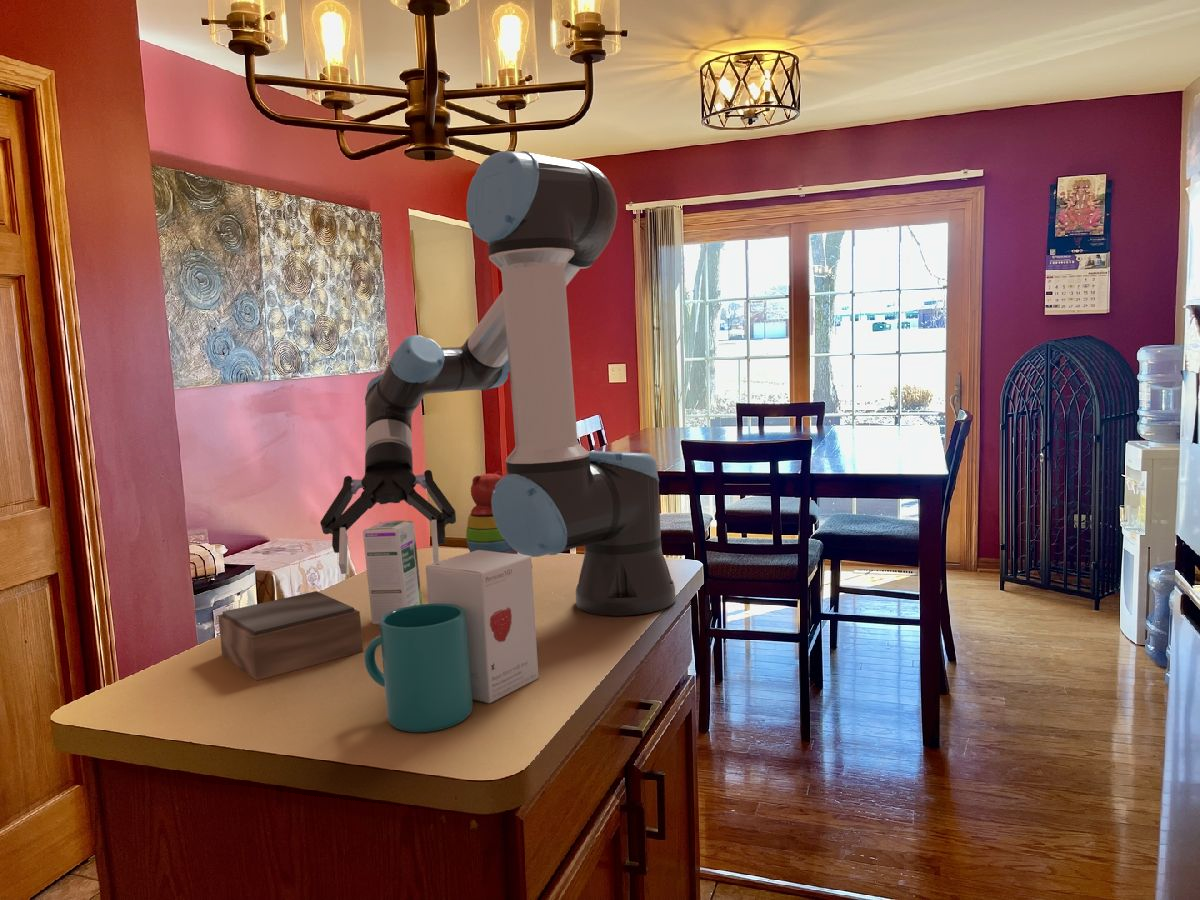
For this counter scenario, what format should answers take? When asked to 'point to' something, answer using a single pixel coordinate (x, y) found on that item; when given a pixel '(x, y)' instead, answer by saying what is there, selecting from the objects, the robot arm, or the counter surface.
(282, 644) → the plinth
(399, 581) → the syrup box
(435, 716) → the cup
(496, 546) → the stacking bear
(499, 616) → the supplement box
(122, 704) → the counter surface
